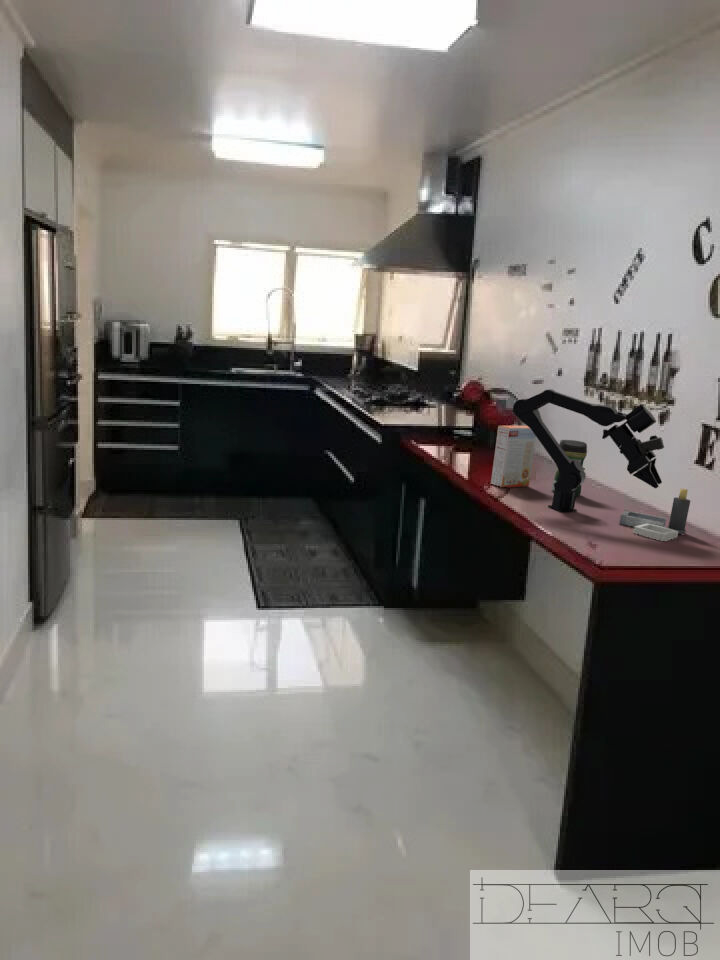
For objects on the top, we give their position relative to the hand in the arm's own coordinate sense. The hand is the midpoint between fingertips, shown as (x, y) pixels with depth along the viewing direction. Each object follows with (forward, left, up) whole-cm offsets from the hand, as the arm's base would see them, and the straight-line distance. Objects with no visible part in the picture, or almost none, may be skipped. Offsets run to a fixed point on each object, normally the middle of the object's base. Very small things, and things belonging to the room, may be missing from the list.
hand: (658, 485), depth 234 cm
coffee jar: (+5, +42, -13) cm, 44 cm away
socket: (-7, -8, -13) cm, 16 cm away
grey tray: (-1, +2, -13) cm, 13 cm away
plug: (+4, -6, -13) cm, 15 cm away
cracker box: (-10, +54, -13) cm, 56 cm away
